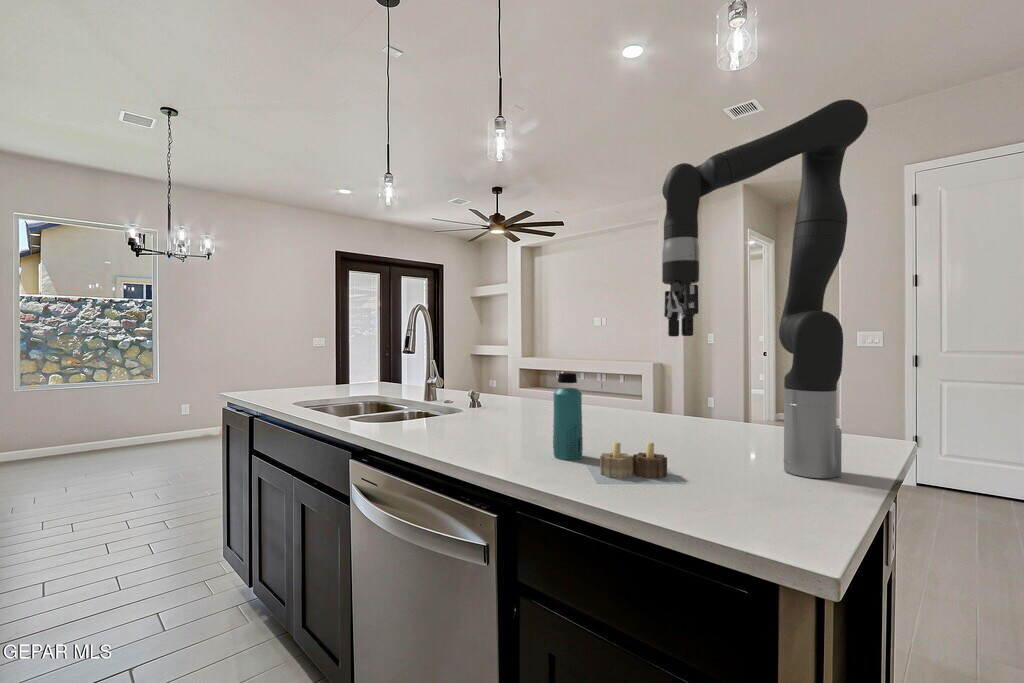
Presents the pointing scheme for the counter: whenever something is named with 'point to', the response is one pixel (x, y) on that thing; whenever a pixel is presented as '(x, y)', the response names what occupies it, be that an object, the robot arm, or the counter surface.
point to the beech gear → (616, 466)
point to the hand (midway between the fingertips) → (680, 336)
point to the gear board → (634, 479)
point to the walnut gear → (650, 466)
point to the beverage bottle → (567, 420)
